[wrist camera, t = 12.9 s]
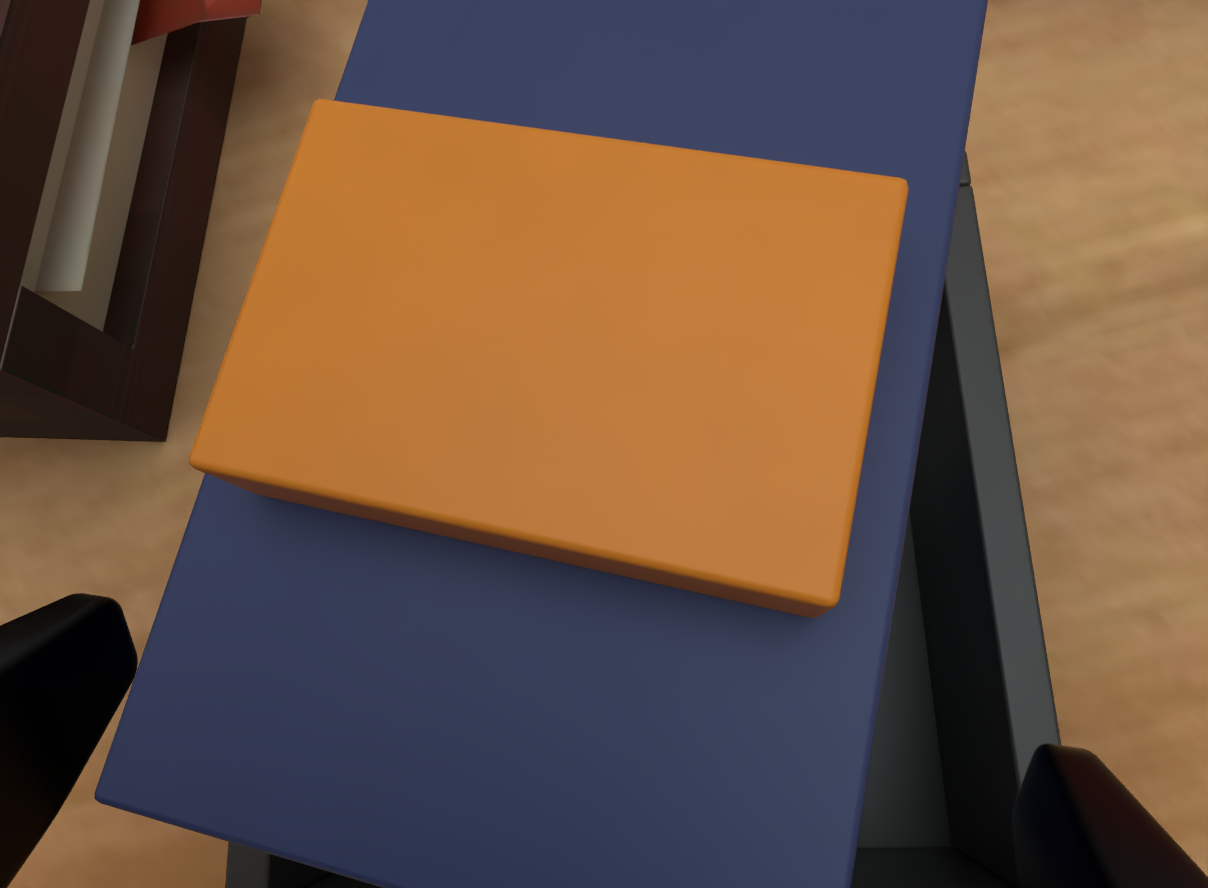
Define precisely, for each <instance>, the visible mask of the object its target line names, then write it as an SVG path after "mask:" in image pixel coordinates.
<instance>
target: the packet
mask: <svg viewBox="0 0 1208 888" xmlns="http://www.w3.org/2000/svg"><path fill="white" fill-rule="evenodd" d="M987 3H988V1H987V0H369V1H368V3H367V6H366V9H365V12H364V15H363V18H362V21H361V24H360V27H359V29H358V32H357V35H356V38H355V41H354V44H353V47H352V50H351V53H350V56H349V58H348V61H347V64H346V67H345V70H344V73H343V76H342V79H341V82H340V84H339V87H338V90H337V93H336V96H335V99H334V100H326V99H318V100H316V101H315V102H314V103H313V106H312V108H311V111H310V114H309V117H308V120H307V123H306V125H305V128H304V131H303V134H302V137H301V140H300V143H299V145H298V148H297V151H296V154H295V157H294V160H293V162H292V165H291V168H290V171H289V174H288V177H287V180H286V182H285V185H284V188H283V191H282V194H281V197H280V199H279V202H278V205H277V208H276V211H275V214H274V217H273V219H272V222H271V225H270V228H269V231H268V234H267V236H266V239H265V242H264V245H263V248H262V251H261V254H260V256H259V259H258V262H257V265H256V268H255V271H254V273H253V276H252V279H251V282H250V285H249V288H248V291H247V293H246V296H245V299H244V302H243V305H242V308H241V311H240V313H239V316H238V319H237V322H236V325H235V328H234V330H233V333H232V336H231V339H230V342H229V345H228V348H227V350H226V353H225V356H224V359H223V362H222V365H221V367H220V370H219V373H218V376H217V379H216V382H215V385H214V387H213V390H212V393H211V396H210V399H209V402H208V404H207V407H206V410H205V413H204V416H203V419H202V422H201V424H200V427H199V430H198V433H197V436H196V439H195V441H194V444H193V447H192V450H191V453H190V456H189V464H190V465H191V466H192V467H194V468H195V469H197V470H199V471H201V472H204V473H205V475H204V478H203V481H202V484H201V487H200V490H199V493H198V496H197V499H196V501H195V504H194V507H193V510H192V513H191V516H190V519H189V522H188V525H187V527H186V530H185V533H184V536H183V539H182V542H181V545H180V548H179V551H178V554H177V556H176V559H175V562H174V565H173V568H172V571H171V574H170V577H169V580H168V583H167V585H166V588H165V591H164V594H163V597H162V600H161V603H160V606H159V609H158V611H157V614H156V617H155V620H154V623H153V626H152V629H151V632H150V635H149V638H148V640H147V643H146V646H145V649H144V652H143V655H142V658H141V661H140V664H139V666H138V669H137V672H136V675H135V678H134V681H133V684H132V687H131V690H130V693H129V695H128V698H127V701H126V704H125V707H124V710H123V713H122V716H121V719H120V721H119V724H118V727H117V730H116V733H115V736H114V739H113V742H112V745H111V748H110V750H109V753H108V756H107V759H106V762H105V765H104V768H103V771H102V774H101V776H100V779H99V782H98V785H97V788H96V791H95V799H96V800H97V801H98V802H100V803H102V804H105V805H108V806H112V807H115V808H118V809H122V810H125V811H128V812H132V813H135V814H138V815H142V816H145V817H148V818H152V819H155V820H158V821H162V822H165V823H168V824H172V825H175V826H178V827H182V828H185V829H188V830H192V831H195V832H198V833H202V834H205V835H209V836H212V837H215V838H219V839H222V840H225V841H229V842H232V843H235V844H239V845H242V846H245V847H249V848H252V849H255V850H259V851H262V852H265V853H269V854H272V855H275V856H279V857H282V858H285V859H289V860H292V861H295V862H299V863H302V864H305V865H309V866H312V867H315V868H319V869H322V870H325V871H329V872H332V873H335V874H339V875H342V876H345V877H349V878H352V879H355V880H359V881H362V882H365V883H369V884H372V885H375V886H379V887H382V888H851V883H852V877H853V870H854V864H855V857H856V851H857V845H858V838H859V832H860V825H861V819H862V812H863V806H864V799H865V793H866V786H867V780H868V773H869V767H870V760H871V754H872V747H873V741H874V734H875V728H876V721H877V715H878V708H879V702H880V696H881V689H882V683H883V676H884V670H885V663H886V657H887V650H888V644H889V637H890V631H891V624H892V618H893V611H894V605H895V598H896V592H897V585H898V579H899V572H900V566H901V560H902V553H903V547H904V540H905V534H906V527H907V521H908V514H909V508H910V501H911V495H912V488H913V482H914V475H915V469H916V462H917V456H918V449H919V443H920V436H921V430H922V424H923V417H924V411H925V404H926V398H927V391H928V385H929V378H930V372H931V365H932V359H933V352H934V346H935V339H936V333H937V326H938V320H939V313H940V307H941V300H942V294H943V288H944V281H945V275H946V268H947V262H948V255H949V249H950V242H951V236H952V229H953V223H954V216H955V210H956V203H957V197H958V190H959V184H960V177H961V171H962V164H963V158H964V152H965V145H966V139H967V132H968V126H969V119H970V113H971V106H972V100H973V93H974V87H975V80H976V74H977V67H978V61H979V54H980V48H981V41H982V35H983V28H984V22H985V15H986V9H987Z"/></svg>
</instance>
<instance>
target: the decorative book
mask: <svg viewBox="0 0 1208 888" xmlns="http://www.w3.org/2000/svg"><path fill="white" fill-rule="evenodd" d="M260 9H261V0H0V437H24V438H58V439H92V440H126V441H160V442H165V437H166V431H167V426H168V421H169V416H170V410H171V405H172V400H173V395H174V390H175V384H176V379H177V374H178V369H179V364H180V358H181V353H182V348H183V343H184V338H185V332H186V327H187V322H188V317H189V312H190V306H191V301H192V296H193V291H194V285H195V280H196V275H197V270H198V265H199V259H200V254H201V249H202V244H203V239H204V233H205V228H206V223H207V218H208V213H209V207H210V202H211V197H212V192H213V187H214V181H215V176H216V171H217V166H218V161H219V155H220V150H221V145H222V140H223V134H224V129H225V124H226V119H227V114H228V108H229V103H230V98H231V93H232V88H233V82H234V77H235V72H236V67H237V62H238V56H239V51H240V46H241V41H242V36H243V30H244V25H245V20H246V17H248V16H256V15H260Z"/></svg>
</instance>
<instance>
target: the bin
mask: <svg viewBox="0 0 1208 888" xmlns="http://www.w3.org/2000/svg"><path fill="white" fill-rule="evenodd" d="M970 184H971V178H970V172H969V166H968V160H967V154H966V152H964V158H963V164H962V171H961V177H960V184H959V190H958V197H957V203H956V210H955V216H954V223H953V229H952V236H951V242H950V249H949V255H948V262H947V268H946V275H945V281H944V288H943V294H942V300H941V307H940V313H939V320H938V326H937V333H936V339H935V346H934V352H933V359H932V365H931V372H930V378H929V385H928V391H927V398H926V404H925V411H924V417H923V424H922V430H921V436H920V443H919V449H918V456H917V462H916V469H915V475H914V482H913V488H912V495H911V501H910V508H909V514H908V521H907V527H906V534H905V540H904V547H903V553H902V560H901V566H900V572H899V579H898V585H897V592H896V598H895V605H894V611H893V618H892V624H891V631H890V637H889V644H888V650H887V657H886V663H885V670H884V676H883V683H882V689H881V696H880V702H879V708H878V715H877V721H876V728H875V734H874V741H873V747H872V754H871V760H870V767H869V773H868V780H867V786H866V793H865V799H864V806H863V812H862V819H861V825H860V832H859V838H858V845H857V851H856V857H855V864H854V870H853V877H852V883H851V888H1018V883H1017V873H1016V863H1015V853H1014V844H1013V834H1012V813H1013V807H1014V803H1015V800H1016V797H1017V795H1018V792H1019V789H1020V787H1021V784H1022V782H1023V779H1024V776H1025V774H1026V771H1027V769H1028V766H1029V763H1030V761H1031V758H1032V756H1033V753H1034V752H1035V750H1036V749H1037V748H1038V747H1039V746H1040V745H1042V744H1047V743H1049V744H1055V745H1061V740H1060V734H1059V728H1058V722H1057V715H1056V709H1055V703H1054V697H1053V690H1052V684H1051V678H1050V671H1049V665H1048V659H1047V653H1046V646H1045V640H1044V634H1043V628H1042V621H1041V615H1040V609H1039V602H1038V596H1037V590H1036V584H1035V577H1034V571H1033V565H1032V559H1031V552H1030V546H1029V540H1028V533H1027V527H1026V521H1025V515H1024V508H1023V502H1022V496H1021V490H1020V483H1019V477H1018V471H1017V464H1016V458H1015V452H1014V446H1013V439H1012V433H1011V427H1010V421H1009V414H1008V408H1007V402H1006V395H1005V389H1004V383H1003V377H1002V370H1001V364H1000V358H999V352H998V345H997V339H996V333H995V326H994V320H993V314H992V308H991V301H990V295H989V289H988V283H987V276H986V270H985V264H984V257H983V251H982V245H981V239H980V232H979V226H978V220H977V214H976V207H975V201H974V195H973V189H972V187H971V186H970ZM225 888H382V887H379V886H375V885H372V884H369V883H365V882H362V881H359V880H355V879H352V878H349V877H345V876H342V875H339V874H335V873H332V872H329V871H325V870H322V869H319V868H315V867H312V866H309V865H305V864H302V863H299V862H295V861H292V860H289V859H285V858H282V857H279V856H275V855H272V854H269V853H265V852H262V851H259V850H255V849H252V848H249V847H245V846H242V845H239V844H235V843H232V842H229V843H228V857H227V870H226V884H225Z"/></svg>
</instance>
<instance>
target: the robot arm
mask: <svg viewBox="0 0 1208 888" xmlns="http://www.w3.org/2000/svg"><path fill="white" fill-rule="evenodd" d="M137 664H138V659H137V653H136V650H135V647H134V644H133V641H132V638H131V635H130V632H129V629H128V626H127V623H126V620H125V617H124V614H123V611H122V608H121V606H120V605H119V603H118V602H116V601H115V600H114V599H112V598H109V597H103V596H96V595H90V594H83V593H80V594H72V595H69V596H66V597H64V598H62V599H60V600H57V601H55V602H53V603H51V604H48V605H46V606H44V607H42V608H39V609H37V610H35V611H33V612H30V613H28V614H26V615H23V616H21V617H19V618H17V619H14V620H12V621H10V622H8V623H5V624H3V625H1V626H0V888H7V887H8V886H9V884H10V883H11V881H12V880H13V879H14V877H15V876H16V874H17V873H18V871H19V870H20V868H21V867H22V865H23V864H24V863H25V861H26V860H27V858H28V857H29V855H30V854H31V852H32V851H33V850H34V848H35V847H36V845H37V844H38V842H39V841H40V839H41V838H42V836H43V835H44V833H45V832H46V830H47V829H48V827H49V826H50V824H51V823H52V821H53V820H54V818H55V817H56V815H57V814H58V812H59V810H60V809H61V807H62V805H63V803H64V802H65V800H66V798H67V797H68V795H69V793H70V792H71V790H72V788H73V787H74V785H75V783H76V781H77V779H78V778H79V776H80V774H81V772H82V770H83V769H84V767H85V765H86V763H87V762H88V760H89V758H90V756H91V754H92V753H93V751H94V749H95V747H96V746H97V744H98V742H99V740H100V738H101V737H102V735H103V733H104V731H105V730H106V728H107V726H108V724H109V722H110V721H111V719H112V717H113V715H114V714H115V712H116V710H117V708H118V706H119V705H120V703H121V701H122V699H123V698H124V696H125V694H126V692H127V690H128V689H129V687H130V685H131V683H132V681H133V679H134V677H135V674H136V670H137ZM1012 834H1013V844H1014V853H1015V863H1016V873H1017V883H1018V888H1208V877H1207V875H1206V874H1205V873H1204V872H1203V871H1202V870H1201V869H1200V868H1199V867H1198V866H1197V865H1196V864H1195V862H1194V861H1193V860H1192V859H1191V858H1190V857H1189V856H1188V855H1187V854H1186V853H1185V852H1184V850H1183V849H1182V848H1181V847H1180V846H1179V845H1178V844H1177V843H1176V842H1175V841H1174V840H1173V838H1172V837H1171V836H1170V835H1169V834H1168V833H1167V832H1166V831H1165V830H1164V829H1163V828H1162V827H1161V825H1160V824H1159V823H1158V822H1157V821H1156V820H1155V819H1154V818H1153V817H1152V816H1151V815H1150V813H1149V812H1148V811H1147V810H1146V809H1145V808H1144V807H1143V806H1142V805H1141V804H1140V803H1139V801H1138V800H1137V799H1136V798H1135V797H1134V796H1133V795H1132V794H1131V793H1130V792H1129V791H1128V790H1127V788H1126V787H1125V786H1124V785H1123V784H1122V783H1121V782H1120V781H1119V780H1118V779H1117V778H1116V776H1115V775H1114V774H1113V773H1112V772H1111V771H1110V770H1109V769H1108V768H1107V767H1106V766H1105V764H1104V763H1103V762H1102V761H1101V760H1100V759H1099V758H1098V757H1097V756H1096V755H1094V754H1093V753H1091V752H1090V751H1088V750H1085V749H1081V748H1074V747H1068V746H1062V745H1055V744H1049V743H1047V744H1042V745H1040V746H1039V747H1038V748H1037V749H1036V750H1035V752H1034V753H1033V756H1032V758H1031V761H1030V763H1029V766H1028V769H1027V771H1026V774H1025V776H1024V779H1023V782H1022V784H1021V787H1020V789H1019V792H1018V795H1017V797H1016V800H1015V803H1014V807H1013V813H1012Z"/></svg>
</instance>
